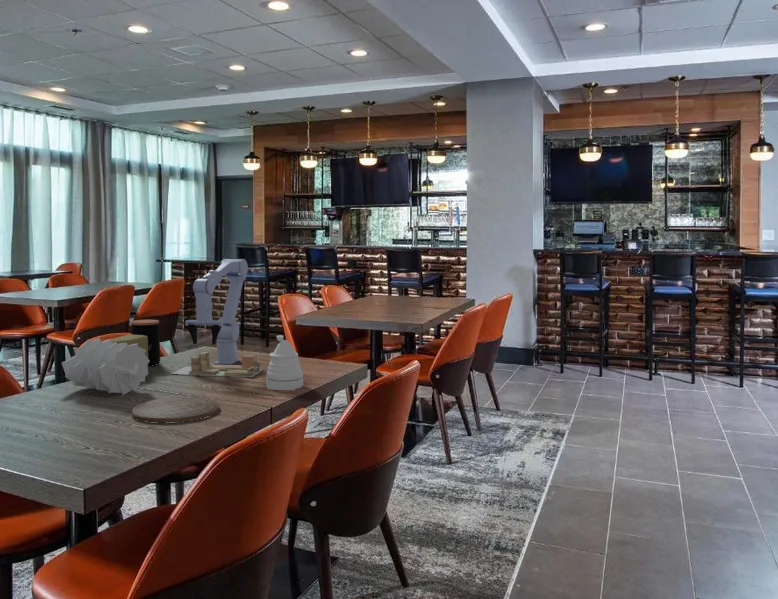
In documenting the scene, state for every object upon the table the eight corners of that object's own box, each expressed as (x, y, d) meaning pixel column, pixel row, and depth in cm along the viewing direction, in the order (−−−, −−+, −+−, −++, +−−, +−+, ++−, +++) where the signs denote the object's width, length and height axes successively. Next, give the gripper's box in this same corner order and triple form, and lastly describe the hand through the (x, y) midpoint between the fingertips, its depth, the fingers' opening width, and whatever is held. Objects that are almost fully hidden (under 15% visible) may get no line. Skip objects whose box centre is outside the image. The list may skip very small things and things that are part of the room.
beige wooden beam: (202, 366, 261) (201, 351, 260) (260, 368, 258) (260, 353, 258) (197, 369, 256) (196, 353, 255) (256, 371, 253) (256, 355, 253)
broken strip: (194, 371, 254) (194, 355, 253) (254, 373, 251) (254, 357, 250) (188, 373, 249) (188, 358, 248) (250, 376, 246) (249, 360, 245)
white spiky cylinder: (95, 396, 232) (146, 401, 221) (52, 383, 217) (105, 388, 206) (110, 346, 238) (161, 349, 226) (70, 331, 223) (122, 333, 212)
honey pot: (258, 388, 229) (258, 337, 227) (281, 381, 240) (280, 332, 238) (288, 392, 223) (288, 340, 221) (310, 385, 234) (310, 335, 232)
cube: (246, 365, 258) (246, 354, 258) (257, 366, 258) (257, 354, 257) (242, 367, 254) (242, 356, 254) (253, 368, 253) (253, 356, 253)
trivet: (118, 412, 198) (118, 406, 198) (194, 398, 215) (194, 392, 215) (155, 430, 180) (155, 423, 180) (235, 413, 198) (234, 407, 197)
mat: (186, 367, 263) (186, 366, 263) (263, 370, 259) (263, 368, 259) (170, 374, 249) (170, 373, 249) (252, 377, 245) (252, 376, 245)
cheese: (110, 385, 231) (109, 343, 230) (87, 383, 234) (85, 342, 232) (149, 373, 252) (148, 334, 251) (128, 371, 255) (127, 333, 253)
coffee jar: (126, 366, 264) (125, 322, 262) (143, 361, 274) (142, 319, 272) (149, 368, 260) (147, 323, 259) (165, 363, 271) (164, 320, 269)
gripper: (181, 310, 252) (182, 345, 253) (218, 311, 251) (219, 346, 252) (189, 308, 259) (189, 342, 260) (224, 309, 258) (225, 343, 259)
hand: (204, 344), depth 257 cm, fingers open, 7 cm apart
